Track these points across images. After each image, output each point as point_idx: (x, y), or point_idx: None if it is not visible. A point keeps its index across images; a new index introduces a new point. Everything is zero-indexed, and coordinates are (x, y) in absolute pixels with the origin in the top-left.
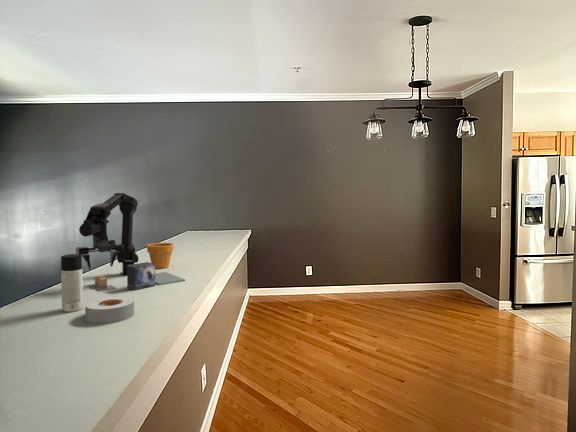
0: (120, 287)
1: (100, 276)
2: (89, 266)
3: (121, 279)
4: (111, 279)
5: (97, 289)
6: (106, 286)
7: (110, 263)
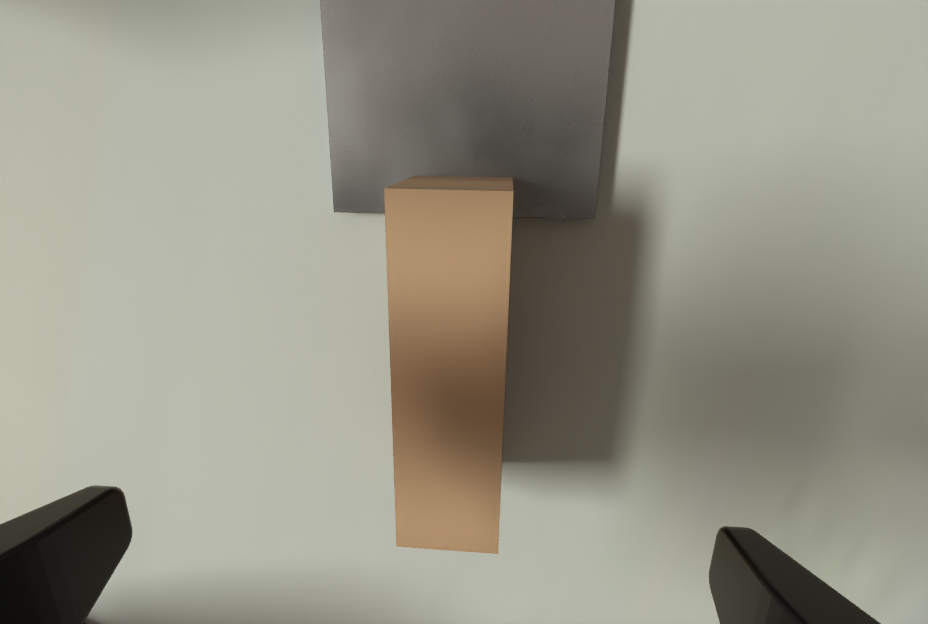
0: (243, 4)
1: (430, 458)
2: (810, 586)
3: (143, 485)
4: (254, 561)
5: (609, 58)
6: (427, 161)
7: (69, 611)
